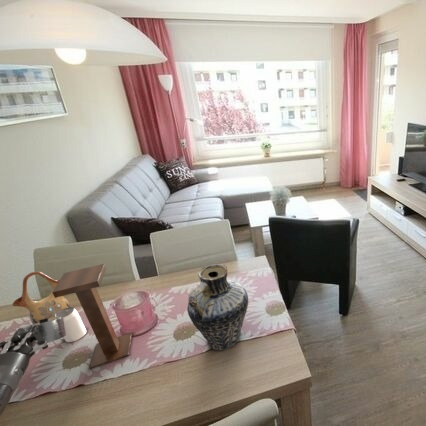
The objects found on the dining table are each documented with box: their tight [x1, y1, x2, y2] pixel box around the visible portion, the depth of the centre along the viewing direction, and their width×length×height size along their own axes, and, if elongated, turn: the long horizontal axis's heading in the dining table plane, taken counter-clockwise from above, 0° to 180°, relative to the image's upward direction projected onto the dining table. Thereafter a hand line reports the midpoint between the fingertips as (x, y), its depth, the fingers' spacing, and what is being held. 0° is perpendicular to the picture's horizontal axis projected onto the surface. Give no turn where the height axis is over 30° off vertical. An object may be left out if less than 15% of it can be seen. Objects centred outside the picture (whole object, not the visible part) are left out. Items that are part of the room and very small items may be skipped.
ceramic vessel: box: [12, 271, 72, 325], centre depth 112 cm, size 16×9×25 cm, turn 153°
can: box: [55, 306, 87, 343], centre depth 108 cm, size 6×6×12 cm
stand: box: [51, 263, 133, 369], centre depth 97 cm, size 11×11×32 cm
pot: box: [10, 317, 66, 347], centre depth 86 cm, size 9×20×7 cm, turn 25°
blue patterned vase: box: [187, 263, 249, 351], centre depth 100 cm, size 21×19×30 cm
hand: (28, 328), depth 83 cm, fingers closed on pot
